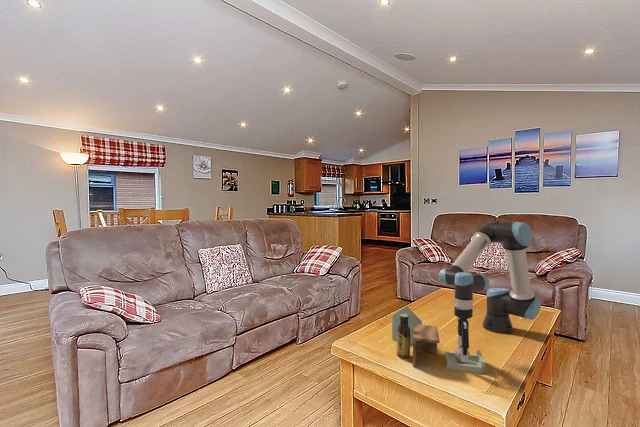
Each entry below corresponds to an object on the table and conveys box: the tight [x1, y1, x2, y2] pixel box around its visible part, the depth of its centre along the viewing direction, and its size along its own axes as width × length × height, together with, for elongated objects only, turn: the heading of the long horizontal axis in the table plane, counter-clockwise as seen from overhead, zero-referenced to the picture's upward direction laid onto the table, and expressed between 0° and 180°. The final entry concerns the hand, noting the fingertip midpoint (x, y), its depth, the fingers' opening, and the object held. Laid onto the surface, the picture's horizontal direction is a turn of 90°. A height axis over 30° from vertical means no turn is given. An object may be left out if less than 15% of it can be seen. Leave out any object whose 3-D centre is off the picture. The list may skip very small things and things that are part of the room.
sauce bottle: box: [396, 313, 411, 359], centre depth 157 cm, size 6×6×20 cm
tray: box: [444, 349, 486, 374], centre depth 149 cm, size 15×12×5 cm
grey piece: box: [391, 305, 423, 347], centre depth 173 cm, size 16×8×20 cm, turn 50°
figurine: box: [454, 345, 471, 363], centre depth 149 cm, size 6×7×8 cm
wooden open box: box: [412, 324, 441, 368], centre depth 153 cm, size 11×17×13 cm, turn 164°
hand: (462, 355), depth 149 cm, fingers open, 11 cm apart
